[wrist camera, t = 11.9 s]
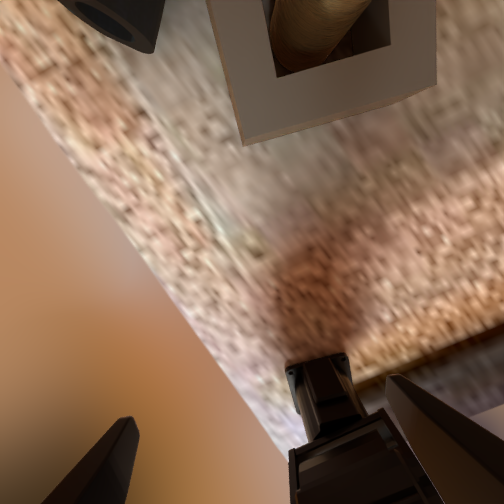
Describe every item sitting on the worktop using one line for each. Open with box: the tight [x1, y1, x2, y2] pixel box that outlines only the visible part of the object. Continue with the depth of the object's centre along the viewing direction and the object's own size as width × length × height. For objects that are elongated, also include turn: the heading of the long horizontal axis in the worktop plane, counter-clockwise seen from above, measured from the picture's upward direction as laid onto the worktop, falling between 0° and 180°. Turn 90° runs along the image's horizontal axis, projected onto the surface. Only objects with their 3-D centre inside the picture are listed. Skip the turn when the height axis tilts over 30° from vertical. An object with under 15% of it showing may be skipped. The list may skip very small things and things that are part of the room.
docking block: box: [206, 0, 437, 147], centre depth 14 cm, size 11×11×4 cm
